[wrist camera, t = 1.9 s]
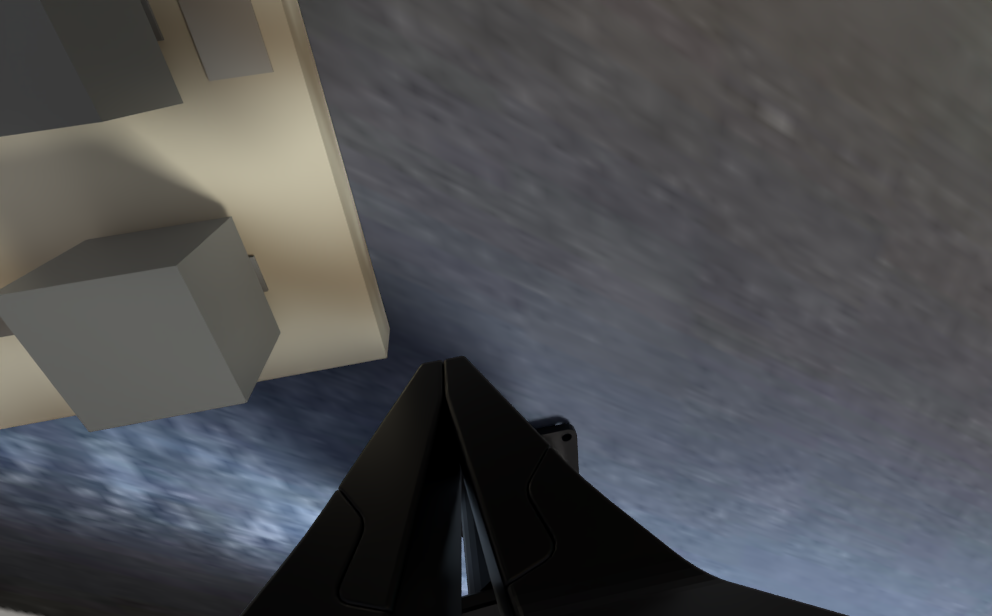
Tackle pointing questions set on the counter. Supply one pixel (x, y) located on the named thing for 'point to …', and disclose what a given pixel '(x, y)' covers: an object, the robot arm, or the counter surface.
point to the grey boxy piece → (146, 323)
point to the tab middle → (78, 64)
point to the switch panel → (206, 189)
